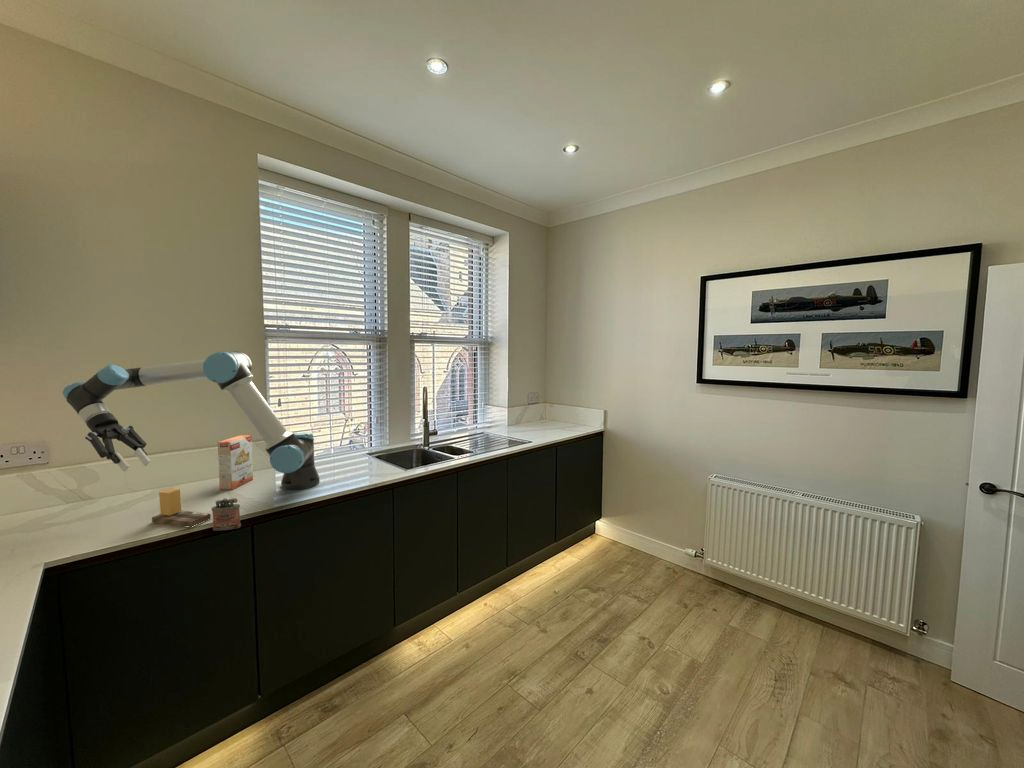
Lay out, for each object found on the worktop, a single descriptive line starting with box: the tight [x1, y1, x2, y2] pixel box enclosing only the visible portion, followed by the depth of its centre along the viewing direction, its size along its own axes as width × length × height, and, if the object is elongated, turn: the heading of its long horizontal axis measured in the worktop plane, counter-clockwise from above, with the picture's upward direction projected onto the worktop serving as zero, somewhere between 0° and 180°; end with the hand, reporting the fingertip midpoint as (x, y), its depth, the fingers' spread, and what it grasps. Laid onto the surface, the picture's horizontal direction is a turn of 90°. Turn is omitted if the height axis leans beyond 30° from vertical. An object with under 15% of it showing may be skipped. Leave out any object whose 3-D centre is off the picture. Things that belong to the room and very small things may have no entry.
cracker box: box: [217, 434, 254, 491], centre depth 180 cm, size 14×6×21 cm, turn 179°
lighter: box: [211, 497, 242, 531], centre depth 137 cm, size 8×3×10 cm, turn 105°
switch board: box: [151, 509, 212, 528], centre depth 143 cm, size 17×7×2 cm, turn 77°
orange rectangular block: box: [158, 488, 182, 516], centre depth 143 cm, size 4×4×8 cm
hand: (137, 466), depth 145 cm, fingers open, 6 cm apart
